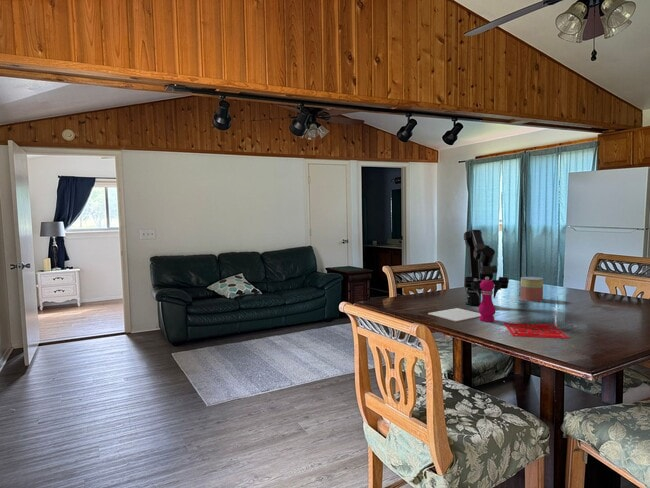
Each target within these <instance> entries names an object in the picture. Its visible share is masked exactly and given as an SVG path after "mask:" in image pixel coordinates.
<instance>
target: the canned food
mask: <svg viewBox="0 0 650 488" xmlns="http://www.w3.org/2000/svg"><path fill="white" fill-rule="evenodd" d="M519 299H520V300H521V301H523V300H524V302H529V301H532V302H531V303H539V302H538V301H541V302H543V301H544V278H543V277H539V276H521V277H520V297H519Z"/></svg>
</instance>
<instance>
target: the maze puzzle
mask: <svg viewBox="0 0 650 488" xmlns="http://www.w3.org/2000/svg"><path fill="white" fill-rule="evenodd" d="M503 324H504V325H505V327H506V328H507V330H508V331H509V332H510V335H512V337H517V338H518V337H519V338H522V337H523V338H542V339H570V337H569V336H568V335H567V334H566V333H564V332H563V331H562V330H561V329H560V328H558V327H557V326H556V325H555V324H544V323H543V324H539V323H529V324H528V323H515V322H514V323H513V322H512V323H511V322H504V323H503Z"/></svg>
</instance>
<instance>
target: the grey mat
mask: <svg viewBox="0 0 650 488" xmlns="http://www.w3.org/2000/svg"><path fill="white" fill-rule="evenodd" d="M427 315H429V316H434V317H438V318H441V319H445V320H449V321H453V322H455V323H457V322H462V321H468V320H473V319H477V318H480V315H481V314H480V313H479V312H474V311H472V310H467V309H463V308H458V307H456V308H450V309H444V310H439V311H433V312H428V313H427Z"/></svg>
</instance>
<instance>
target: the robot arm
mask: <svg viewBox="0 0 650 488" xmlns="http://www.w3.org/2000/svg"><path fill="white" fill-rule="evenodd" d="M463 241H464V243H465V245H466V247H467V249H468V259H469V276H467V275H466V276H465V277H464V284H463V285H464V288H465V293H466V294H467V302H466V303H465V305H469V306H474V307H476V306H478V307H479V306H480V304H481V302H482V294H481V290H482V289H481V288H480V283H481V282H482V281H483V280H485V277H486V276H488V277H489V280H491V281H492V282H493V283H494V289H493V297H492V298H493V299H496V296H497V293H498V291H500V290H503V289H504V290H506V289H508V287H509V282H510V281H509V278H508V277H507V276H498V279H494V274H497V273H498V266H497V265H493V264H492V263H493V261H494V258H495V253H496V250H495V249H494V248H493V247H490V245H487V244H485V242H484V239H483V235H482V230H481V229H471V230H467V231H465V232H464V233H463Z"/></svg>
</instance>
